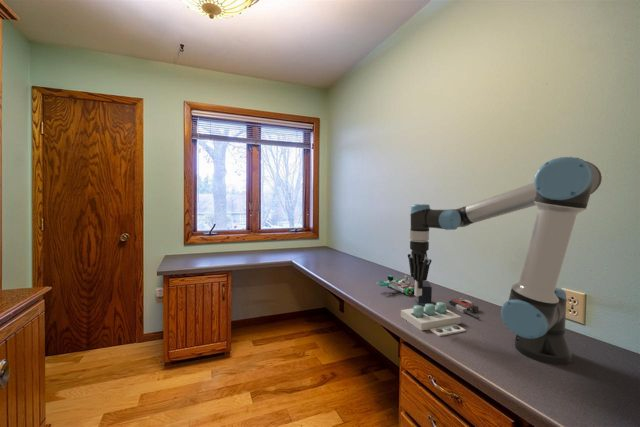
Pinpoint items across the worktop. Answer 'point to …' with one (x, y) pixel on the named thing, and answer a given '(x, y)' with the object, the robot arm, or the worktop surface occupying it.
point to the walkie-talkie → (464, 306)
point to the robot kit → (399, 284)
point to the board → (431, 319)
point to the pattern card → (447, 330)
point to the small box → (425, 294)
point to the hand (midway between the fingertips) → (418, 295)
